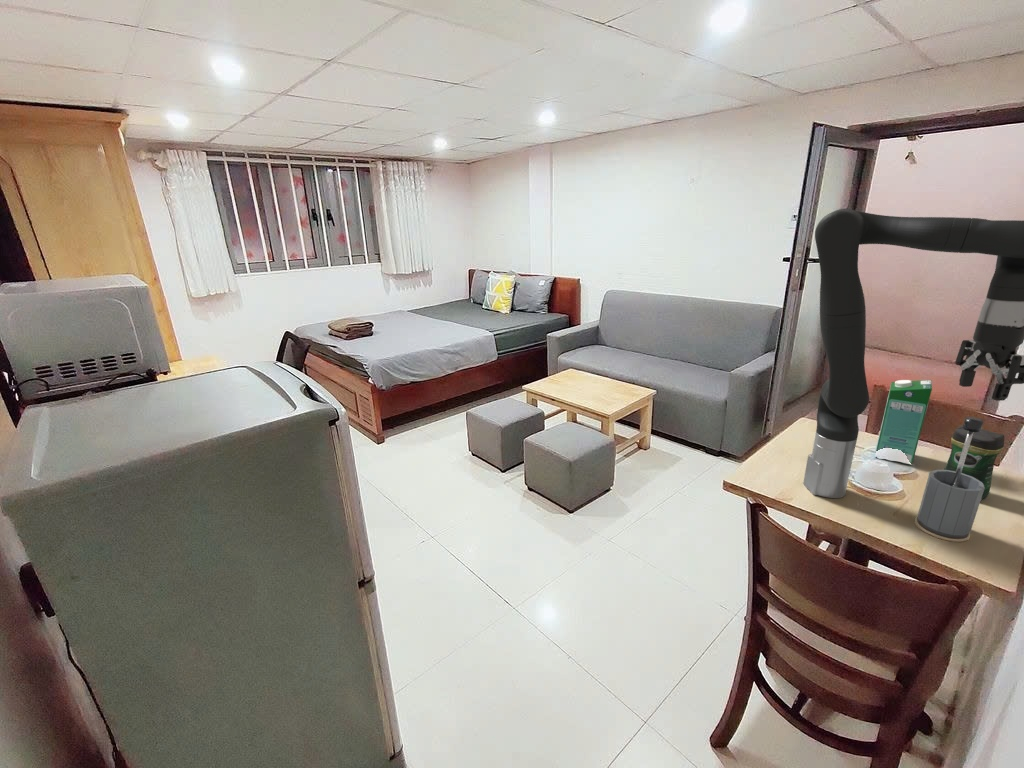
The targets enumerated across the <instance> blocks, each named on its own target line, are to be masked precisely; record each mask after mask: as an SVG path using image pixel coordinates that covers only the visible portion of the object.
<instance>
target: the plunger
mask: <svg viewBox="0 0 1024 768" xmlns="http://www.w3.org/2000/svg"><path fill="white" fill-rule="evenodd" d="M984 423H985V421H984V420H983V419H981V418H979V417H975V416H966V417H964V421H963V424H962V425H963V427H962V428H963V429H964V430H967V431H968V433H967V436H966V440H965V443H964V446H963V450H962V453H961V456H960V460H959V463H958V466H957V470H956V473H955V476H954V480H953V483H952V484H947V483H945V484H947V485H950V486H952V487H957V488H962V487H959V486H957V485H958V482H959V478H960V475H961V472H962V469H963V465H964V462H965V459H966V456H967V452H968V449H969V446H970V442H971V439H972V436H973V433H974V432H981V429H983V425H984ZM962 489H964V488H962Z"/></svg>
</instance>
